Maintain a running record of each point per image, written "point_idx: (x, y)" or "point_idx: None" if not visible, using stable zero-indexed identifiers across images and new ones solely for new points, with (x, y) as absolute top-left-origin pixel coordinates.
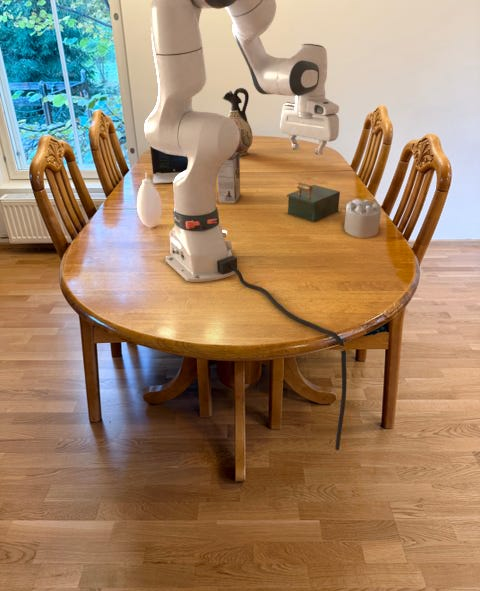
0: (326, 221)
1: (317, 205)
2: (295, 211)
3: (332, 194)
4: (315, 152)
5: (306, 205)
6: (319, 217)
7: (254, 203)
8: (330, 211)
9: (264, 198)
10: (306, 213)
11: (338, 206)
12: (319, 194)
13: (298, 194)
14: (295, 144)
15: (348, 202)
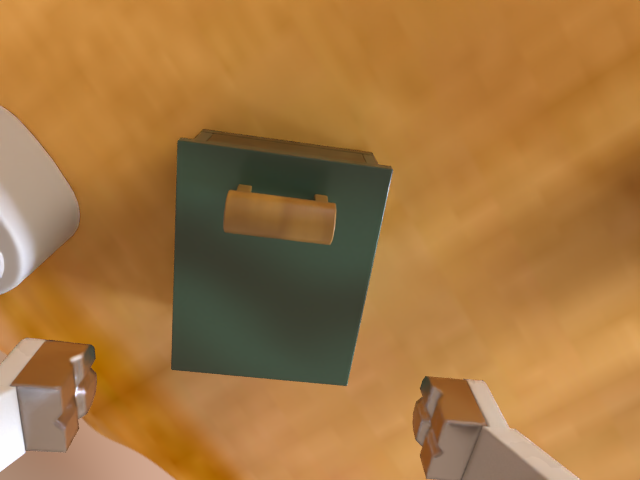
0: (162, 175)
1: None
2: (324, 152)
3: (174, 312)
4: (80, 351)
5: None
6: None
7: (592, 180)
8: None
9: (572, 264)
10: (249, 143)
11: None
12: (231, 275)
13: (324, 196)
14: (444, 425)
15: (11, 243)
